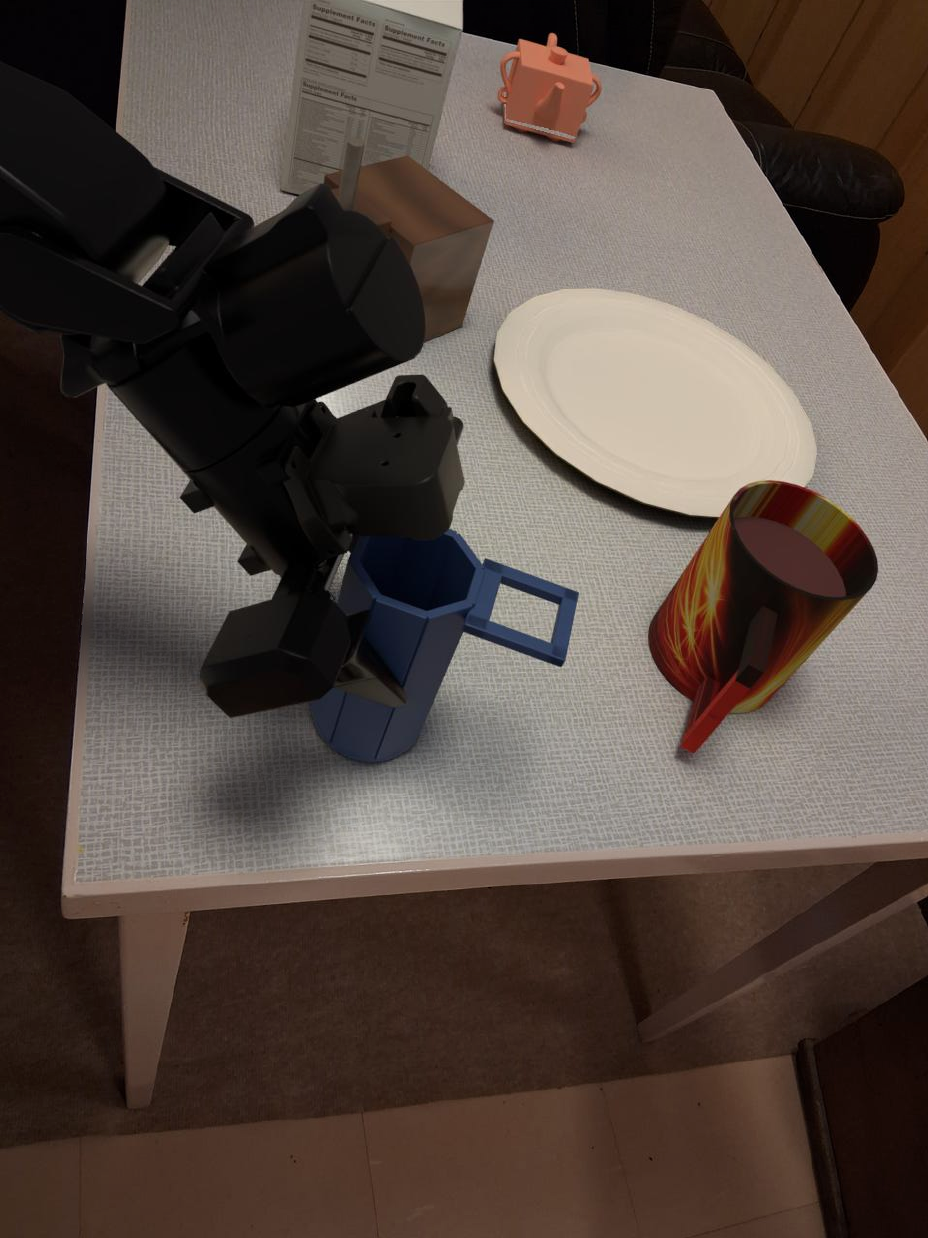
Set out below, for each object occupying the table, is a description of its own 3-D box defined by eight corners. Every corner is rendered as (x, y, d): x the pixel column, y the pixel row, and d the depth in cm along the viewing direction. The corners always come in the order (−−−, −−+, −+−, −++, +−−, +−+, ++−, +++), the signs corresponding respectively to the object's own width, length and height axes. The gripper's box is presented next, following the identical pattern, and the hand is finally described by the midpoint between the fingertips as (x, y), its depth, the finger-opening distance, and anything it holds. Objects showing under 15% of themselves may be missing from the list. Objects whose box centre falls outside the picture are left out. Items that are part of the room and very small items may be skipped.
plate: (520, 266, 91) (527, 248, 90) (803, 371, 93) (813, 355, 92) (453, 453, 72) (460, 434, 71) (811, 581, 74) (824, 565, 72)
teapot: (579, 109, 118) (604, 37, 111) (589, 168, 108) (617, 93, 102) (486, 83, 115) (506, 7, 109) (488, 141, 106) (510, 62, 100)
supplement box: (417, 226, 91) (465, 29, 78) (277, 192, 88) (302, -19, 75) (421, 159, 99) (464, -29, 86) (293, 126, 97) (318, -74, 83)
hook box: (354, 370, 75) (394, 182, 64) (273, 299, 78) (296, 107, 66) (462, 326, 83) (515, 151, 71) (384, 263, 86) (423, 85, 74)
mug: (673, 763, 60) (768, 650, 51) (637, 592, 68) (713, 469, 59) (810, 775, 62) (925, 669, 53) (758, 608, 70) (850, 492, 61)
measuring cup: (295, 739, 53) (335, 585, 44) (331, 656, 58) (374, 500, 48) (486, 806, 54) (565, 669, 45) (507, 719, 58) (583, 577, 49)
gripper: (304, 522, 32) (518, 784, 41) (433, 255, 44) (576, 501, 53) (86, 594, 37) (317, 811, 46) (254, 338, 50) (411, 549, 59)
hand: (416, 654), depth 51 cm, fingers closed on measuring cup, 6 cm apart
